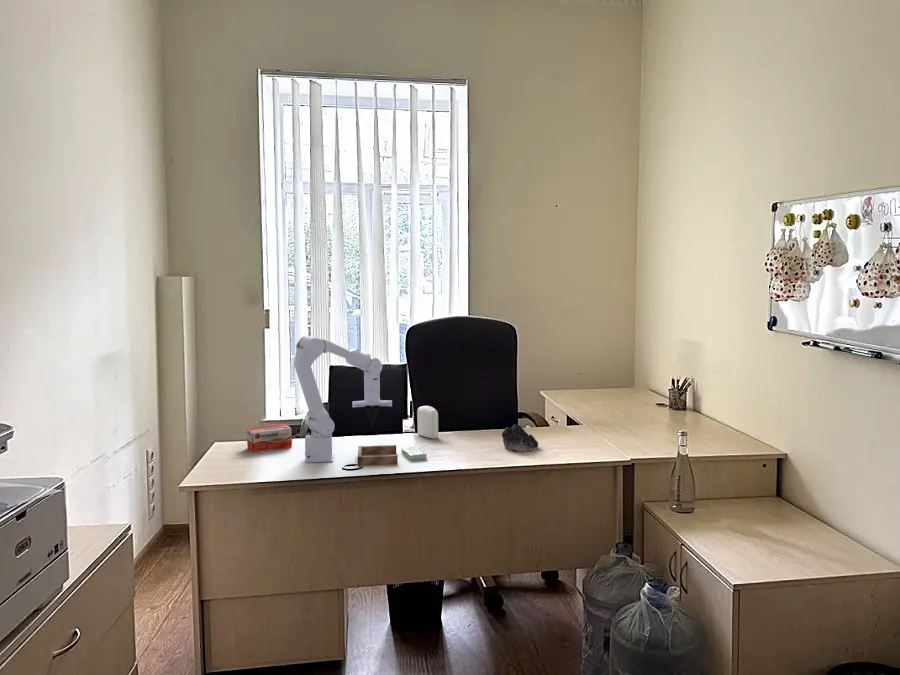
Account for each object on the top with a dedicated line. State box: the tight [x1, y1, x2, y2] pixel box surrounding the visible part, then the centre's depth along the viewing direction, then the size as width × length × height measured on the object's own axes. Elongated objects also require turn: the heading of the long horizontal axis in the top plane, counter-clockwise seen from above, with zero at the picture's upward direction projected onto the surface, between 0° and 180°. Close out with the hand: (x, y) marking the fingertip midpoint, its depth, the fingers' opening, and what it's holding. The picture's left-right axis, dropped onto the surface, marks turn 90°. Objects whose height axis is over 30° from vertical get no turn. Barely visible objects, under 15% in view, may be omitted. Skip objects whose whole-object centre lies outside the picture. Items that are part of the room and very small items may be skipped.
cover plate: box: [401, 446, 428, 462], centre depth 252 cm, size 6×11×2 cm, turn 20°
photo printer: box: [416, 405, 439, 439], centre depth 282 cm, size 10×4×12 cm, turn 39°
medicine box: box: [246, 423, 293, 453], centre depth 265 cm, size 15×8×8 cm, turn 121°
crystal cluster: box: [501, 424, 539, 453], centre depth 263 cm, size 13×14×10 cm
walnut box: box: [357, 444, 399, 467], centre depth 248 cm, size 14×15×3 cm
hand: (372, 425), depth 259 cm, fingers closed
